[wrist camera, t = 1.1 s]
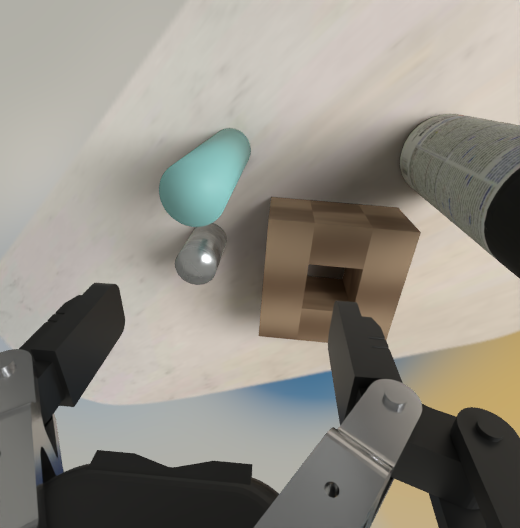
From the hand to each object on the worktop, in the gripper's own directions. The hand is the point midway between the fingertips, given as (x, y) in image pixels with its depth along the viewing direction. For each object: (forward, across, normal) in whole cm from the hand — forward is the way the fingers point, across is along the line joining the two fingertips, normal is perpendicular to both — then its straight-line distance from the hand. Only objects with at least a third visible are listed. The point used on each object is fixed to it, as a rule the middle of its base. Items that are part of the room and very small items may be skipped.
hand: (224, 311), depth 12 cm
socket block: (+21, -7, +8) cm, 24 cm away
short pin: (+21, +5, +7) cm, 23 cm away
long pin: (+21, +3, -2) cm, 21 cm away
